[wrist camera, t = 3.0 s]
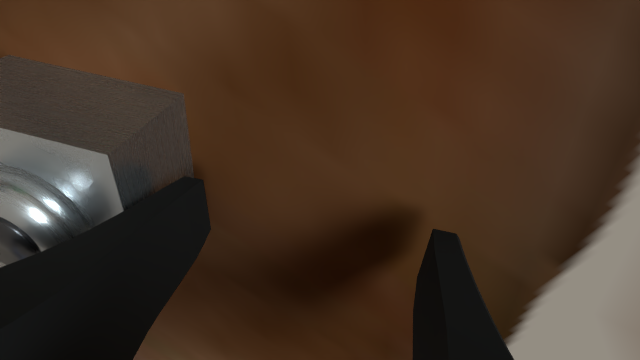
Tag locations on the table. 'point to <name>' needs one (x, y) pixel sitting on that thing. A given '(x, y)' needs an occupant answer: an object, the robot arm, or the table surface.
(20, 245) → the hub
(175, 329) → the table surface
